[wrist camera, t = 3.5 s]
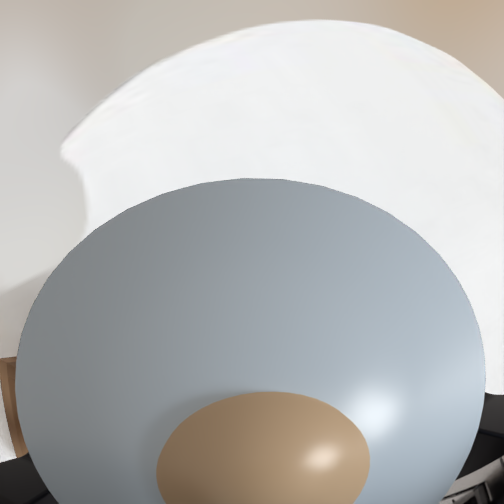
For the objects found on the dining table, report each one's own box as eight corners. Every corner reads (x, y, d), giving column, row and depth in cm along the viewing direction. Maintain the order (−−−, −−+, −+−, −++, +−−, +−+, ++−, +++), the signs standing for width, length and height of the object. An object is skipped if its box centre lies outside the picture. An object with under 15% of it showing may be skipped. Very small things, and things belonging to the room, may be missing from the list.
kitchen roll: (298, 404, 14) (421, 557, 1) (180, 397, 14) (65, 553, 1) (306, 289, 16) (494, 212, 3) (186, 282, 16) (28, 172, 3)
